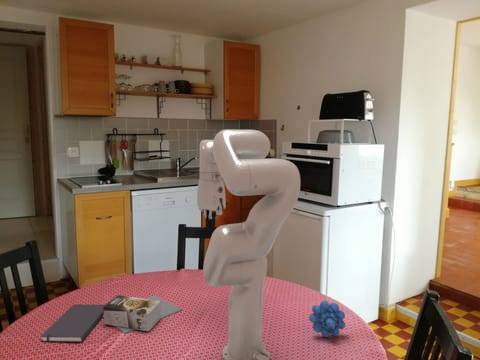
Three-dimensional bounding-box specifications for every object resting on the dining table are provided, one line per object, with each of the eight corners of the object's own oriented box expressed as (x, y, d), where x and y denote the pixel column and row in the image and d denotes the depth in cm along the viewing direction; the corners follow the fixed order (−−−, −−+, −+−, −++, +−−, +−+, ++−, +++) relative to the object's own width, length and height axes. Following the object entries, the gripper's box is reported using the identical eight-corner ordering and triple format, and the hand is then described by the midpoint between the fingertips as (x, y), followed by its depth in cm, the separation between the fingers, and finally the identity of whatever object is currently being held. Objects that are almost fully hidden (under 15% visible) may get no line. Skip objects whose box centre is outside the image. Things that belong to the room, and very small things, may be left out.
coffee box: (148, 312, 123) (102, 306, 127) (149, 332, 124) (103, 325, 128) (161, 299, 132) (117, 294, 135) (161, 318, 133) (118, 311, 136)
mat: (181, 310, 139) (181, 309, 139) (125, 333, 123) (125, 332, 123) (155, 296, 150) (155, 295, 150) (100, 316, 134) (100, 314, 134)
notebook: (81, 342, 118) (109, 308, 139) (81, 337, 117) (108, 304, 138) (40, 341, 118) (73, 308, 139) (39, 336, 118) (73, 304, 139)
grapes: (312, 345, 119) (314, 307, 117) (306, 333, 125) (307, 297, 123) (349, 343, 120) (352, 306, 118) (341, 332, 126) (343, 296, 125)
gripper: (234, 178, 131) (233, 231, 134) (204, 173, 142) (204, 223, 144) (217, 180, 126) (217, 236, 129) (188, 175, 136) (188, 227, 139)
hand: (210, 229), depth 136 cm, fingers closed
